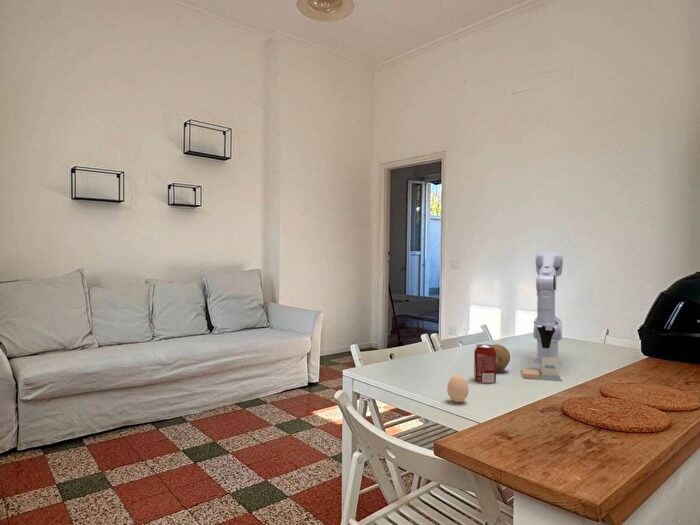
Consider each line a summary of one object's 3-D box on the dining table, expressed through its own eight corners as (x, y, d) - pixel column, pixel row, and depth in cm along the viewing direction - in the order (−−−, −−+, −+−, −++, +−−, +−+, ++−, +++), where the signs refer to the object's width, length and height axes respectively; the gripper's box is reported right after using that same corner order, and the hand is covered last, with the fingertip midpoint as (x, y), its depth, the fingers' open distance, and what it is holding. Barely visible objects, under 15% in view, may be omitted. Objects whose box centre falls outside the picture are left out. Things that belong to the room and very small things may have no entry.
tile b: (541, 374, 157) (541, 356, 157) (556, 375, 156) (556, 357, 156) (541, 375, 156) (541, 357, 156) (557, 376, 154) (557, 358, 154)
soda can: (497, 386, 144) (497, 348, 144) (474, 384, 145) (475, 347, 145) (494, 380, 150) (494, 344, 150) (473, 379, 152) (473, 343, 152)
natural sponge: (503, 377, 154) (503, 348, 154) (478, 372, 160) (478, 344, 160) (514, 372, 161) (514, 344, 161) (490, 368, 167) (490, 341, 167)
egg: (462, 406, 123) (462, 378, 123) (443, 402, 127) (443, 375, 127) (472, 401, 128) (472, 374, 128) (453, 397, 131) (453, 371, 131)
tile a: (521, 369, 157) (523, 373, 151) (537, 370, 156) (539, 374, 150) (521, 373, 157) (523, 378, 151) (537, 374, 156) (539, 379, 150)
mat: (519, 371, 162) (519, 370, 162) (556, 373, 159) (556, 372, 159) (523, 380, 151) (523, 378, 151) (563, 382, 148) (563, 381, 148)
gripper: (531, 306, 168) (531, 343, 169) (536, 311, 154) (536, 351, 155) (552, 307, 167) (551, 344, 167) (559, 311, 153) (558, 352, 153)
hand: (545, 347), depth 160 cm, fingers closed
